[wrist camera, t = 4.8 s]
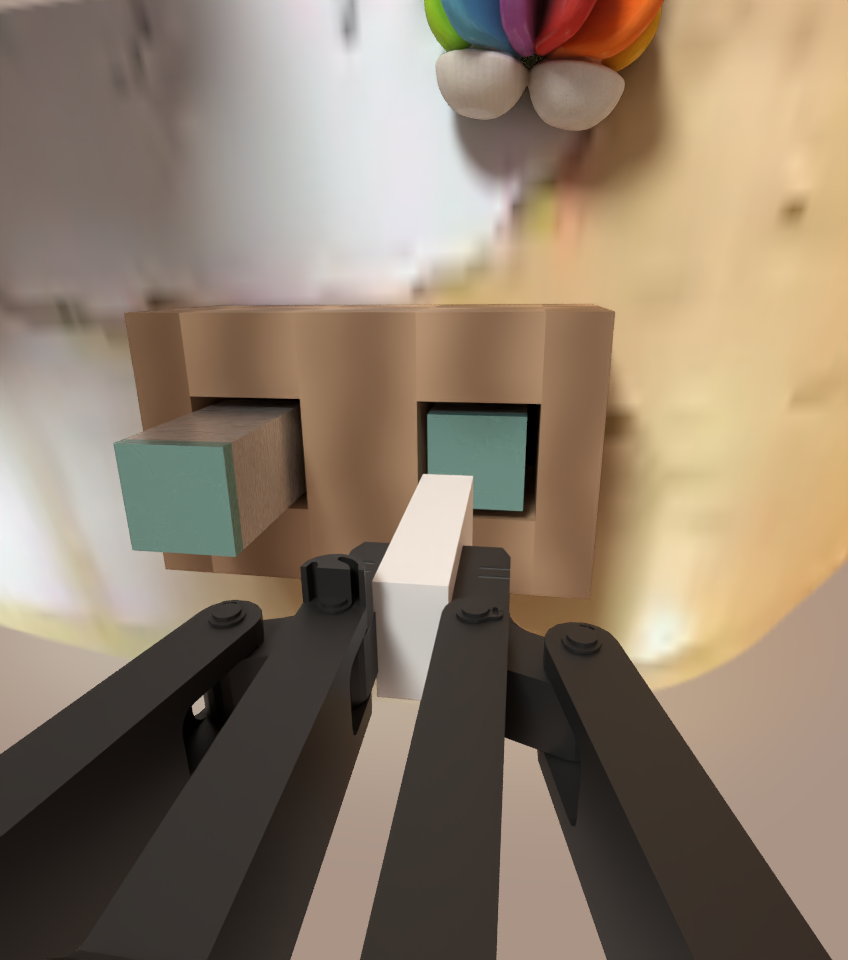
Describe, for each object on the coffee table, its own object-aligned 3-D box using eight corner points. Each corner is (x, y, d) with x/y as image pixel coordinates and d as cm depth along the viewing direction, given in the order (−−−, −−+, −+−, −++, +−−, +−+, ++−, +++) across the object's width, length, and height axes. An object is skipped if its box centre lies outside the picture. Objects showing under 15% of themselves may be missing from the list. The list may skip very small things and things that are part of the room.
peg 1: (234, 480, 29) (132, 550, 22) (224, 399, 28) (113, 443, 20) (312, 484, 28) (236, 556, 21) (306, 401, 27) (222, 447, 20)
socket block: (240, 509, 36) (165, 569, 29) (216, 305, 33) (124, 312, 25) (575, 527, 33) (589, 599, 26) (592, 303, 30) (615, 311, 22)
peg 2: (450, 455, 33) (428, 506, 26) (450, 383, 32) (427, 414, 24) (523, 457, 32) (522, 511, 25) (527, 384, 31) (527, 416, 24)
